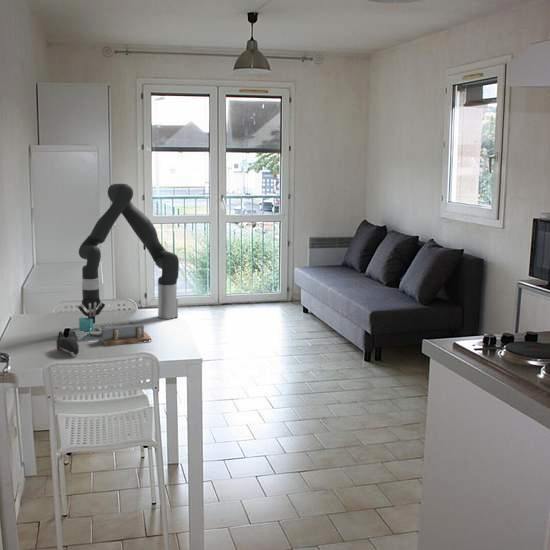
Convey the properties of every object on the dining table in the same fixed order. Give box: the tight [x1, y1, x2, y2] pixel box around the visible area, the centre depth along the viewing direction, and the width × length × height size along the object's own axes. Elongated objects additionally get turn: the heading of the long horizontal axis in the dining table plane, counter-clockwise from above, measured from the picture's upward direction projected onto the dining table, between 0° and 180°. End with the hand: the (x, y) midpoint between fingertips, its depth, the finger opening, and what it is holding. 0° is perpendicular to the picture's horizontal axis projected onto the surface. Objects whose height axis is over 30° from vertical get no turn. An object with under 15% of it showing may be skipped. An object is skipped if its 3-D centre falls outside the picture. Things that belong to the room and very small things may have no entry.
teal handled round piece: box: [78, 316, 101, 336], centre depth 323 cm, size 8×14×6 cm, turn 63°
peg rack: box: [100, 329, 152, 347], centre depth 313 cm, size 20×11×6 cm, turn 113°
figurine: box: [56, 330, 80, 357], centre depth 294 cm, size 8×10×15 cm
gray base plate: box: [77, 334, 101, 342], centre depth 322 cm, size 15×18×1 cm
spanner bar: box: [100, 323, 145, 342], centre depth 312 cm, size 18×6×5 cm, turn 113°
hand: (91, 324), depth 328 cm, fingers closed
